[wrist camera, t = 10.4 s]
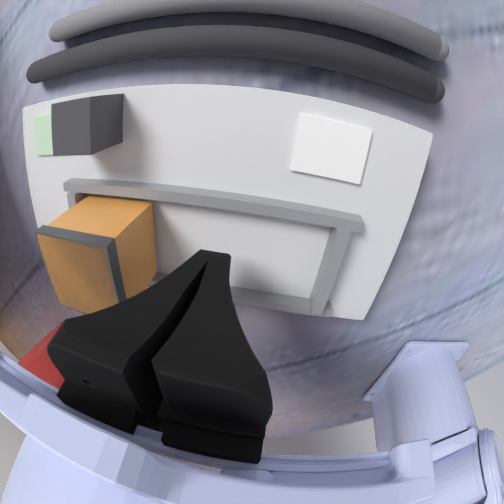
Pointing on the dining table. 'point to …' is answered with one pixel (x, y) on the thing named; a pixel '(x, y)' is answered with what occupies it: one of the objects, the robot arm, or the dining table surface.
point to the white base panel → (240, 183)
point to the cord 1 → (277, 3)
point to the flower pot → (43, 362)
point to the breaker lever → (99, 252)
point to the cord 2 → (245, 54)
